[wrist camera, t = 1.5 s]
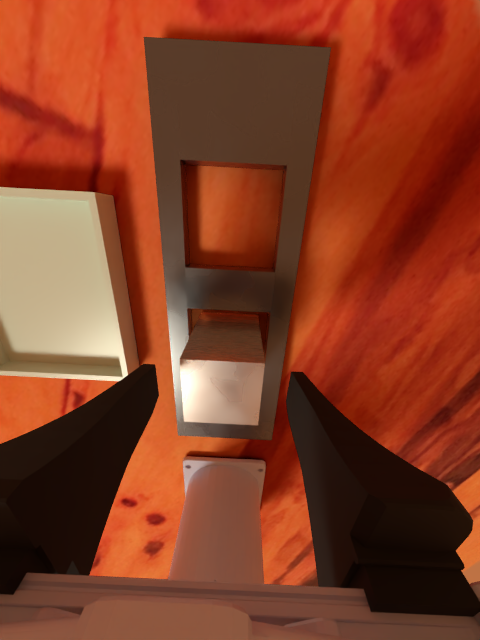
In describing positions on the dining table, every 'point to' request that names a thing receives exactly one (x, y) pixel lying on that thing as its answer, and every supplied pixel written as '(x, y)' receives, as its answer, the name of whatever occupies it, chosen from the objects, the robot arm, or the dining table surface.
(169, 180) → the metal plate with holes
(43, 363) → the tray
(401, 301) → the dining table surface
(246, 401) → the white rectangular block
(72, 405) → the dining table surface
